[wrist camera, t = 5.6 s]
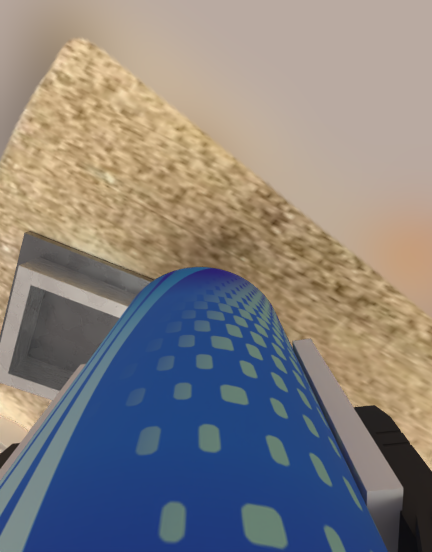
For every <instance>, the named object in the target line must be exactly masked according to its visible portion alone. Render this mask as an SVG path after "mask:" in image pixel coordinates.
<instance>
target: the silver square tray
mask: <svg viewBox="0 0 432 552" xmlns="http://www.w3.org/2000/svg"><path fill="white" fill-rule="evenodd" d="M152 281H154V280H153V279H150V278H148V277H145V276H143V275H140V274H138V273H135V272H133V271H130V270H127V269H125V268H122V267H120V266H117V265H115V264H112V263H110V262H107V261H105V260H102V259H99V258H97V257H94V256H92V255H89V254H87V253H84V252H82V251H79V250H77V249H74V248H71V247H69V246H66V245H64V244H61V243H59V242H56V241H54V240H51V239H48V238H46V237H43V236H41V235H38V234H36V233H33V232H31V231H30V232H26V233H24V238H23V242H22V246H21V250H20V255H19V259H18V263H17V267H16V271H15V276H14V280H13V284H12V288H11V292H10V297H9V301H8V305H7V309H6V313H5V318H4V322H3V326H2V330H1V335H0V383H2V384H5V385H8V386H11V387H14V388H17V389H20V390H23V391H26V392H29V393H32V394H35V395H38V396H41V397H44V398H47V399H50V400H54V398H55V397H56V396H57V394H58V393H59V392H60V390H61V389H62V388H63V386H64V385H65V384H66V383H67V381H68V380H69V379H70V377H71V376H72V375H73V373H74V372H75V371H76V370H77V368H78V367H79V366H80V365H81V364H86V363H87V362H88V361H89V359H90V358H91V357H92V355H93V354H94V353H95V351H96V350H97V348H98V347H99V346H100V344H101V343H102V342H103V340H104V339H105V338H106V336H107V335H108V333H109V332H110V331H111V329H112V328H113V327H114V325H115V324H116V323H117V321H118V320H119V318H120V317H121V316H122V314H123V313H124V312H125V310H126V309H127V308H128V306H129V305H130V304H131V302H132V301H133V299H134V298H135V297H136V296H137V294H138V293H139V292H140V291H141V290H142V289H143V288H144V287H146V286H147V285H148V284H149V283H151V282H152Z"/></svg>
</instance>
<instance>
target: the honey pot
mask: <svg viewBox="0 0 432 552" xmlns="http://www.w3.org/2000/svg"><path fill="white" fill-rule="evenodd" d="M27 434H28V431H27V430H26V429H25V428H24V427H22V426H21V425H19V424H18V423H16V422H15V421H13V420H11V419H8V418H6V417H4V416H0V453H2V452H3V451H4V450H5V449H6V448H8V447H9V446H10V445H11V444H14V443H21V441H22V440H23V439H24V437H25V436H26V435H27Z"/></svg>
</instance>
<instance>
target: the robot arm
mask: <svg viewBox="0 0 432 552" xmlns="http://www.w3.org/2000/svg"><path fill="white" fill-rule="evenodd" d="M293 351H294V353H295V355H296V357H297V359H298V361H299V363H300V366H301V368H302V370H303V372H304V374H305V376H306V378H307V380H308V383H309V385H310V387H311V389H312V391H313V393H314V395H315V397H316V400H317V402H318V404H319V406H320V408H321V410H322V412H323V414H324V417H325V419H326V421H327V423H328V425H329V427H330V429H331V431H332V434H333V436H334V438H335V440H336V442H337V444H338V446H339V448H340V451H341V453H342V455H343V457H344V459H345V461H346V463H347V465H348V467H349V470H350V472H351V474H352V476H353V478H354V480H355V482H356V484H357V487H358V489H359V491H360V493H361V495H362V497H363V499H364V501H365V504H366V506H367V508H368V510H369V512H370V514H371V516H372V518H373V521H374V523H375V525H376V527H377V529H378V531H379V533H380V535H381V538H382V540H383V542H384V544H385V546H386V548H387V550H388V552H432V471H431V470H430V469H429V467H428V466H427V465H426V463H425V462H424V461H423V459H422V458H421V457H420V455H419V454H418V453H417V451H416V450H415V449H414V448H413V446H412V445H410V443H409V441H408V440H407V438H406V437H405V436H404V434H403V433H401V431H400V429H399V428H398V426H397V425H396V424H395V422H394V421H393V420H392V418H391V417H390V416H389V415H387V414H386V413H385V412H383V411H382V410H380V409H379V408H378V407H376V406H375V405H373V406H363V407H354V408H353V406H352V404H351V403H350V401H349V400H348V398H347V396H346V395H345V393H344V392H343V390H342V388H341V387H340V385H339V384H338V382H337V380H336V379H335V377H334V376H333V374H332V372H331V371H330V369H329V367H328V366H327V364H326V363H325V361H324V359H323V358H322V356H321V355H320V353H319V351H318V350H317V348H316V347H315V345H314V343H313V342H312V340H311V339H304V340H295V341H293ZM85 365H86V364H81V365H80V366H79V367H78V368H77V370H76V371H75V372H74V373H73V375H72V376H71V377H70V379H69V380H68V381H67V383H66V384H65V385H64V386H63V388H62V389H61V390H60V392H59V393H58V394H57V396H56V397H55V398H54V400H53V401H52V402H51V403H50V405H49V406H48V407H47V409H46V410H45V411H44V413H43V414H42V415H41V417H40V418H39V419H38V420H37V422H36V423H35V424H34V426H33V427H32V428H31V430H30V431H29V432H28V434H27V435H26V436H25V437H24V439H23V440H22V441H21V443H14V444H11V445H10V446H9V447H8V448H6V449H5V450H4V451H3V452H2V453H0V480H1V479H2V478H3V476H4V475H5V474H6V472H7V471H8V469H9V468H10V467H11V465H12V464H13V463H14V461H15V460H16V459H17V457H18V456H19V455H20V453H21V452H22V450H23V449H24V448H25V446H26V445H27V444H28V442H29V441H30V440H31V438H32V437H33V435H34V434H35V433H36V431H37V430H38V429H39V427H40V426H41V425H42V423H43V422H44V421H45V419H46V418H47V416H48V415H49V414H50V412H51V411H52V410H53V408H54V407H55V406H56V404H57V403H58V401H59V400H60V399H61V397H62V396H63V395H64V393H65V392H66V391H67V389H68V388H69V387H70V385H71V384H72V382H73V381H74V380H75V378H76V377H77V376H78V374H79V373H80V372H81V370H82V369H83V367H84V366H85Z"/></svg>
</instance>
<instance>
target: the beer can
mask: <svg viewBox="0 0 432 552" xmlns="http://www.w3.org/2000/svg"><path fill="white" fill-rule="evenodd" d="M0 552H388V550H387V548H386V546H385V544H384V542H383V540H382V538H381V535H380V533H379V531H378V529H377V527H376V525H375V523H374V521H373V518H372V516H371V514H370V512H369V510H368V508H367V506H366V504H365V501H364V499H363V497H362V495H361V493H360V491H359V489H358V487H357V484H356V482H355V480H354V478H353V476H352V474H351V472H350V470H349V467H348V465H347V463H346V461H345V459H344V457H343V455H342V453H341V451H340V448H339V446H338V444H337V442H336V440H335V438H334V436H333V434H332V431H331V429H330V427H329V425H328V423H327V421H326V419H325V417H324V414H323V412H322V410H321V408H320V406H319V404H318V402H317V400H316V397H315V395H314V393H313V391H312V389H311V387H310V385H309V383H308V380H307V378H306V376H305V374H304V372H303V370H302V368H301V366H300V363H299V361H298V359H297V357H296V355H295V353H294V351H293V349H292V346H291V344H290V342H289V340H288V338H287V336H286V334H285V332H284V330H283V327H282V325H281V323H280V321H279V319H278V317H277V315H276V313H275V311H274V309H273V307H272V305H271V304H270V302H269V301H268V299H267V298H266V297H265V296H264V294H263V293H262V292H261V291H260V290H259V289H258V288H256V287H255V286H254V285H253V284H251V283H250V282H248V281H247V280H245V279H244V278H242V277H240V276H238V275H236V274H233V273H231V272H228V271H225V270H221V269H216V268H209V267H191V268H184V269H179V270H176V271H172V272H170V273H167V274H165V275H163V276H161V277H159V278H157V279H155V280H154V281H152V282H151V283H149V284H148V285H147V286H146V287H144V288H143V289H142V290H141V291H140V292H139V293H138V294H137V296H136V297H135V298H134V299H133V301H132V302H131V304H130V305H129V306H128V308H127V309H126V310H125V312H124V313H123V314H122V316H121V317H120V318H119V320H118V321H117V323H116V324H115V325H114V327H113V328H112V329H111V331H110V332H109V333H108V335H107V336H106V338H105V339H104V340H103V342H102V343H101V344H100V346H99V347H98V348H97V350H96V351H95V353H94V354H93V355H92V357H91V358H90V359H89V361H88V362H87V363H86V365H85V366H84V367H83V369H82V370H81V372H80V373H79V374H78V376H77V377H76V378H75V380H74V381H73V382H72V384H71V385H70V387H69V388H68V389H67V391H66V392H65V393H64V395H63V396H62V397H61V399H60V400H59V401H58V403H57V404H56V406H55V407H54V408H53V410H52V411H51V412H50V414H49V415H48V416H47V418H46V419H45V421H44V422H43V423H42V425H41V426H40V427H39V429H38V430H37V431H36V433H35V434H34V435H33V437H32V438H31V440H30V441H29V442H28V444H27V445H26V446H25V448H24V449H23V450H22V452H21V453H20V455H19V456H18V457H17V459H16V460H15V461H14V463H13V464H12V465H11V467H10V468H9V469H8V471H7V472H6V474H5V475H4V476H3V478H2V479H1V480H0Z"/></svg>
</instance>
